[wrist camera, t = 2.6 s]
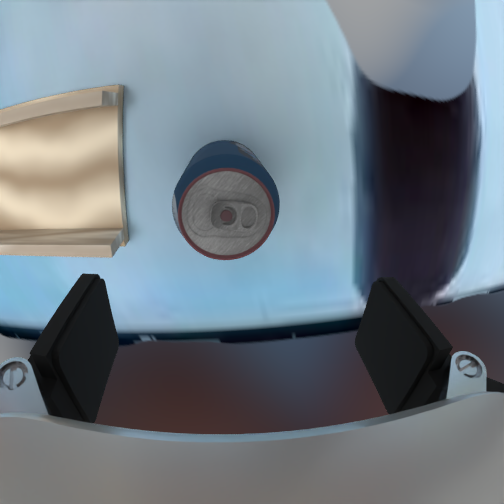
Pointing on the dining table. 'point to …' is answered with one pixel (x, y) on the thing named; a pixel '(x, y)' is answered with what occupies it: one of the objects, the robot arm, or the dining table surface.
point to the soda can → (225, 201)
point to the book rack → (63, 175)
